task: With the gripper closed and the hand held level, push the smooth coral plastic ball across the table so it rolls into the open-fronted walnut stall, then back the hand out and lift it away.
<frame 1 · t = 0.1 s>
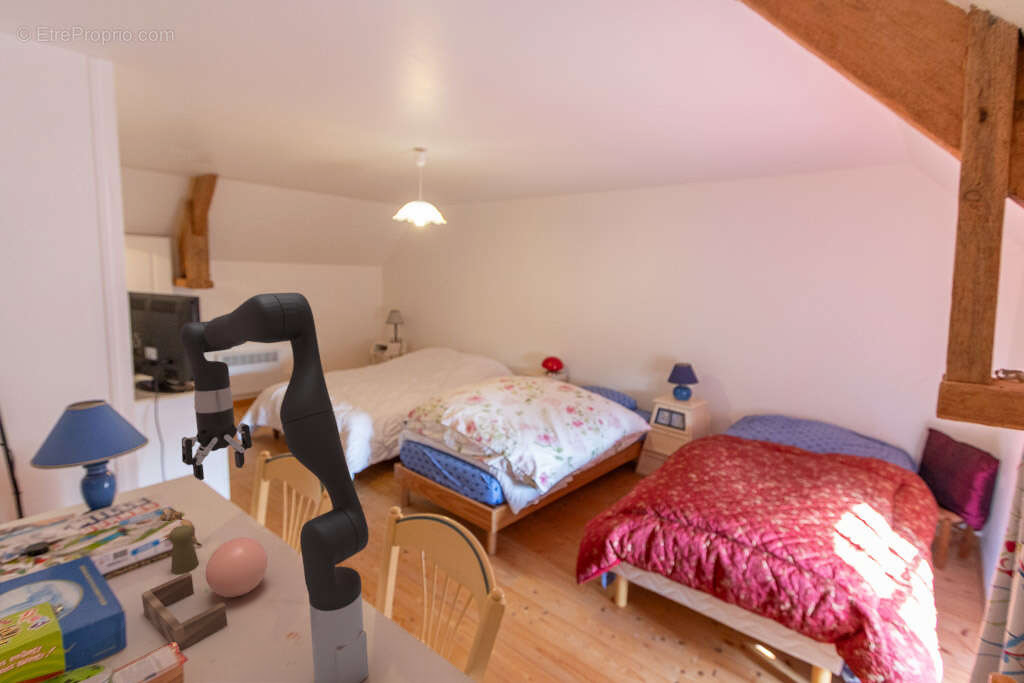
hand: (220, 472, 115), 29 cm above the table, tool pointing down, fingers open, 8 cm apart
cork: (185, 567, 126), on the table
lion figurine: (181, 542, 138), on the table
stall: (184, 619, 108), on the table
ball: (237, 566, 116), point 6 cm above the table
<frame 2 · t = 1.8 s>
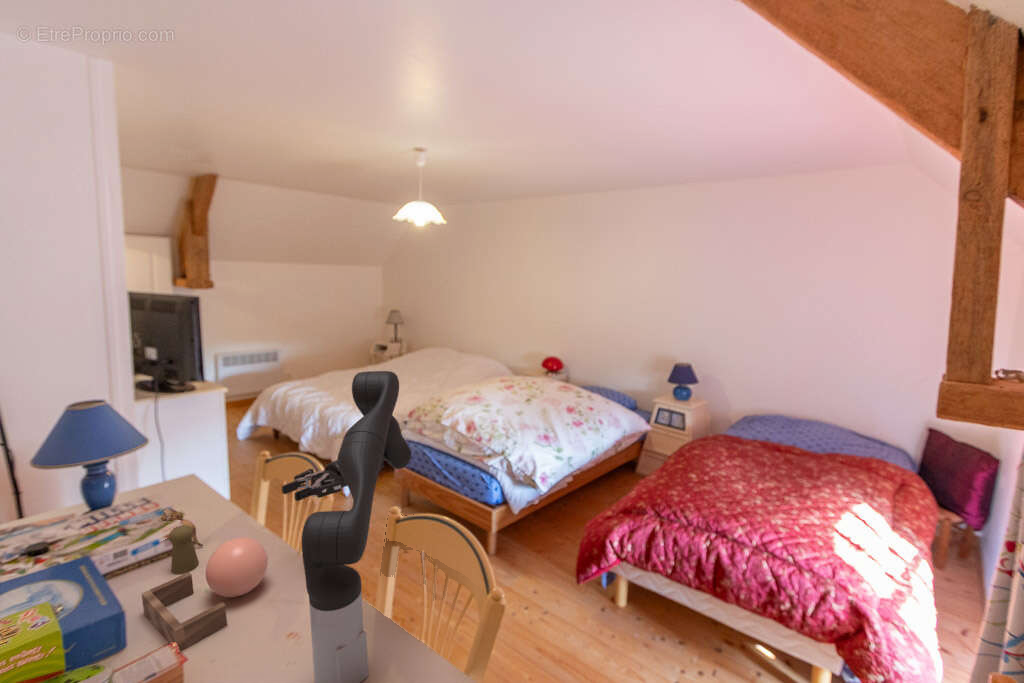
hand: (289, 493, 120), 22 cm above the table, tool horizontal, fingers open, 5 cm apart
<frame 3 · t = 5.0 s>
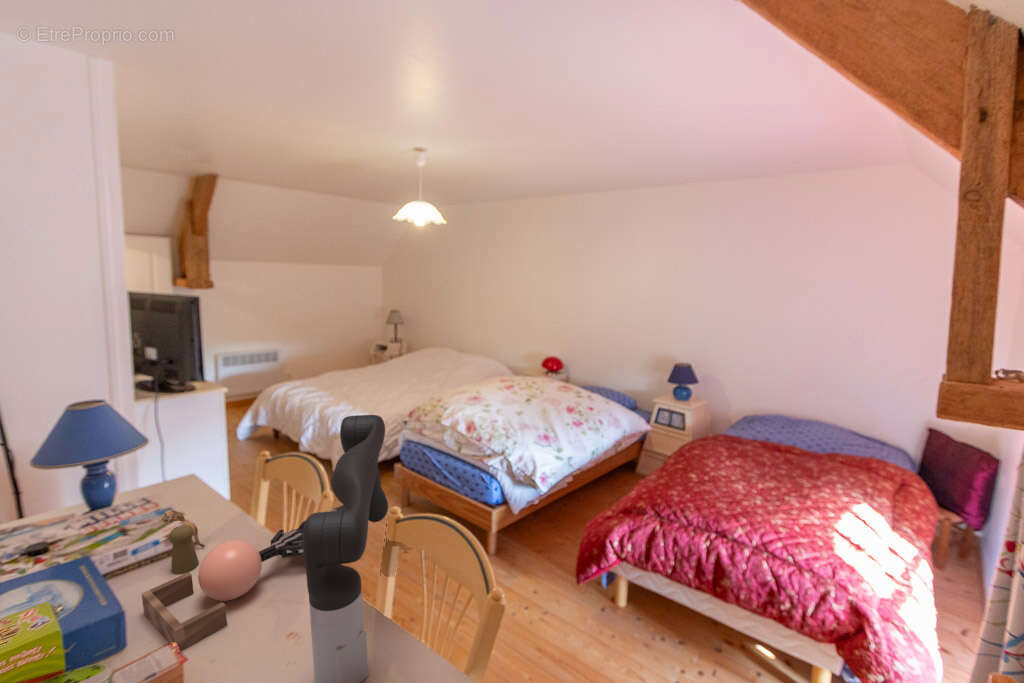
hand: (258, 557, 120), 6 cm above the table, tool horizontal, fingers closed
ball: (230, 569, 115), point 6 cm above the table, tilted 13°
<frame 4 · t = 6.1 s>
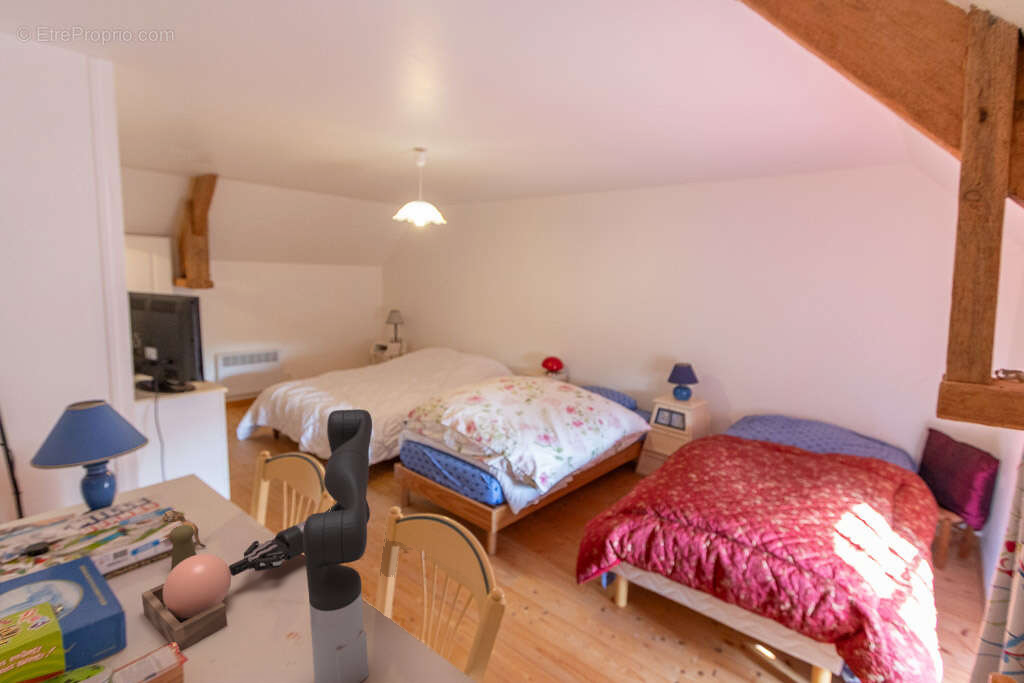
hand: (230, 571, 115), 6 cm above the table, tool horizontal, fingers closed
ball: (197, 585, 109), point 6 cm above the table, tilted 75°
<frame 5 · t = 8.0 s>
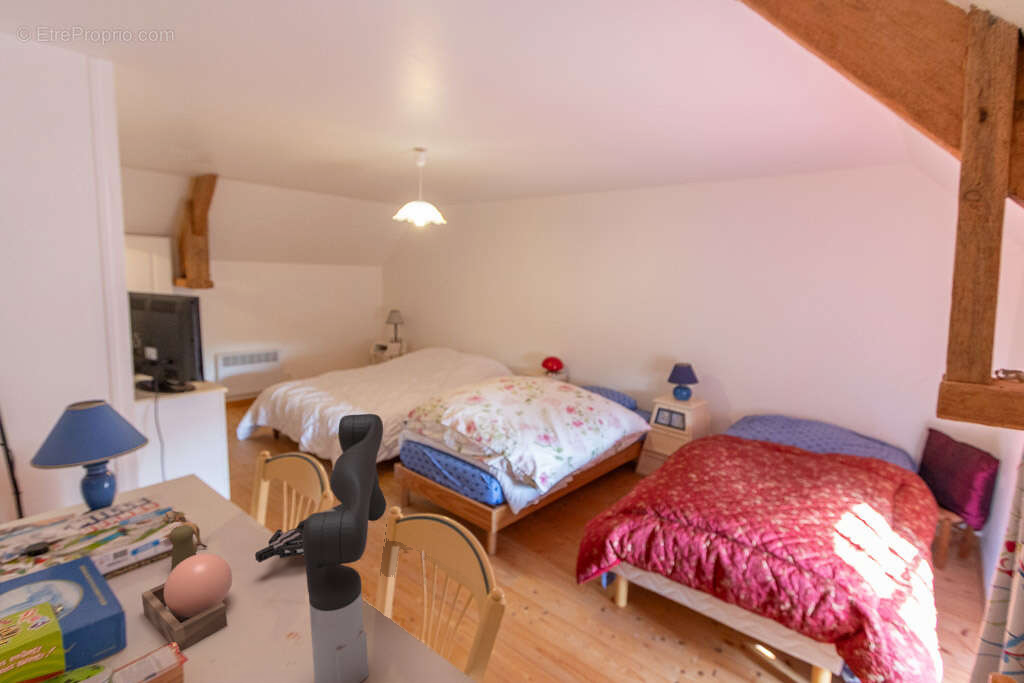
hand: (257, 557, 120), 6 cm above the table, tool horizontal, fingers closed
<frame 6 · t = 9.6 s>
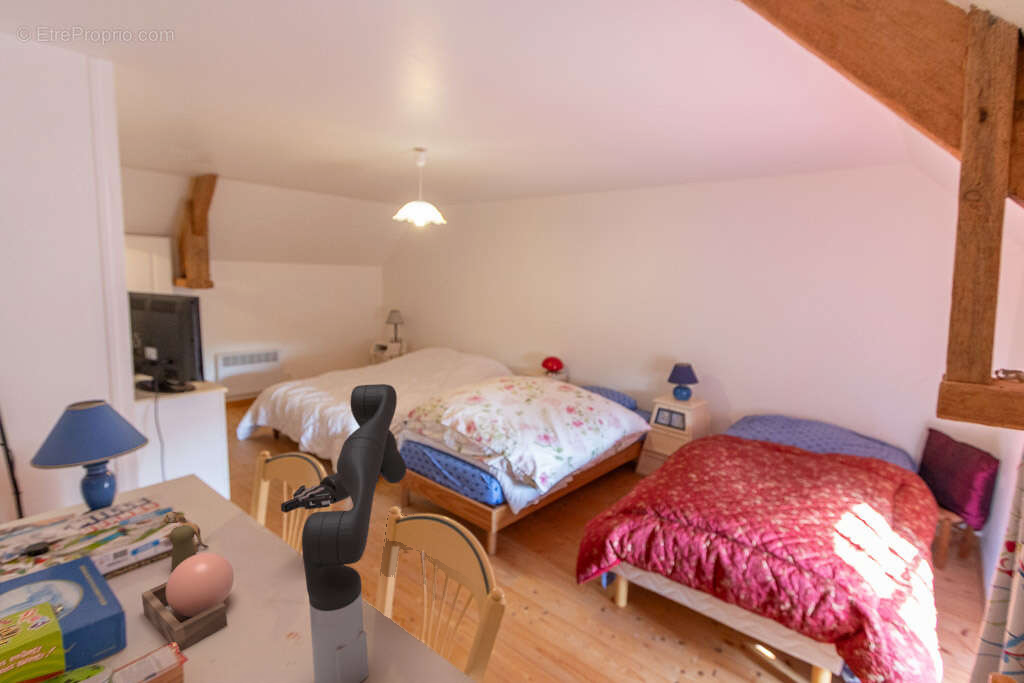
hand: (282, 508, 120), 18 cm above the table, tool horizontal, fingers closed
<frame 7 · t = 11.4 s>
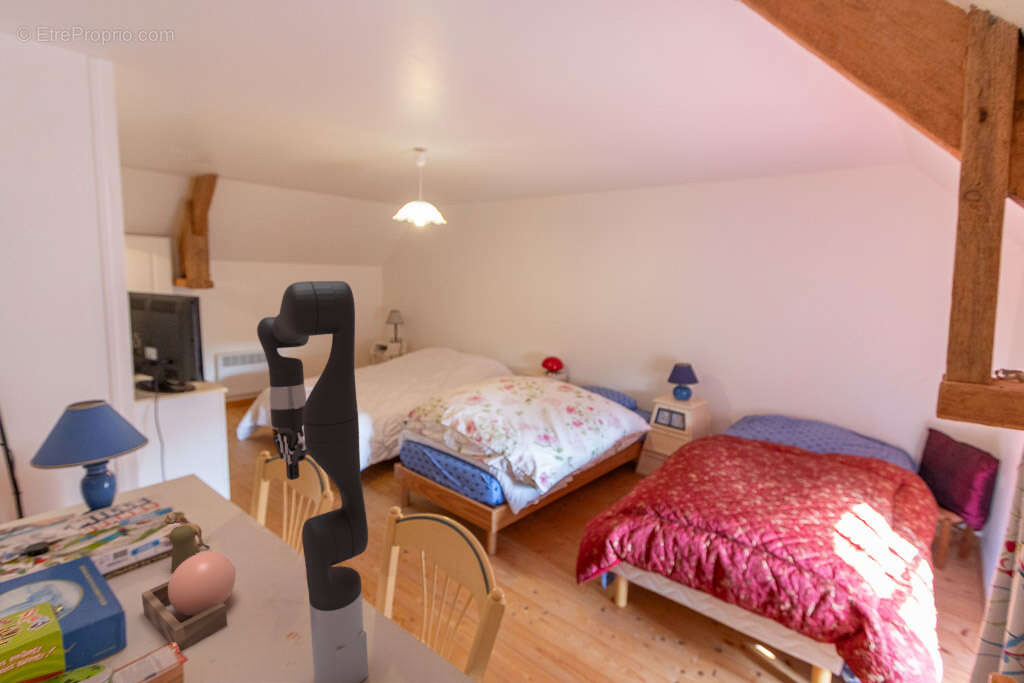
hand: (293, 478, 111), 29 cm above the table, tool pointing down, fingers closed
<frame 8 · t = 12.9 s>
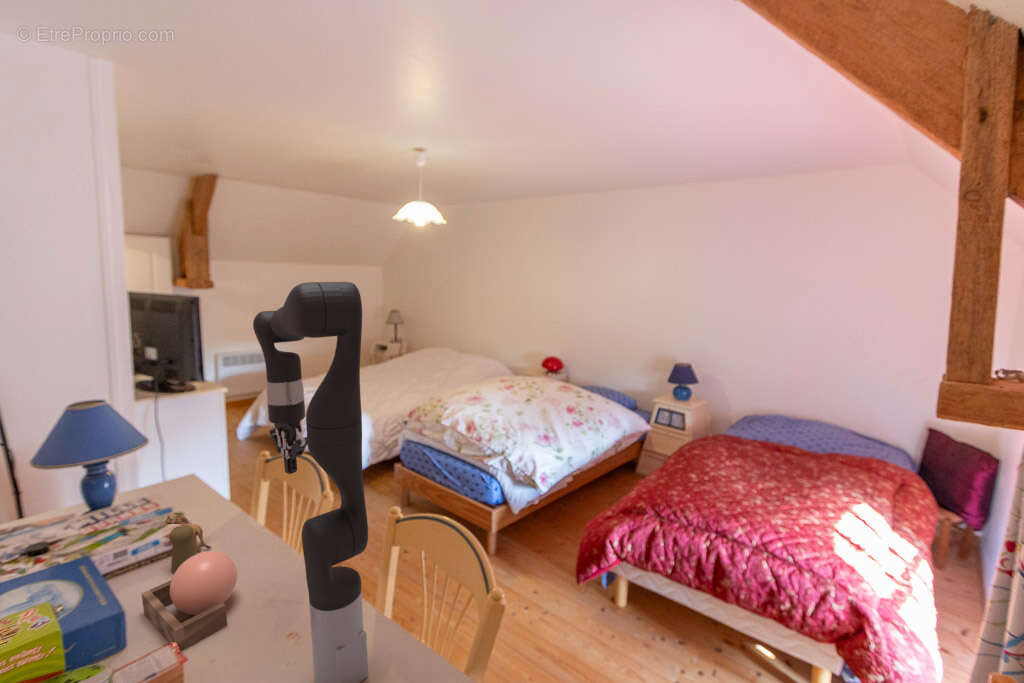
hand: (291, 472, 111), 31 cm above the table, tool pointing down, fingers closed
at the end: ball inside the target area (1.1 cm from its centre), point 6.5 cm above the table; cork moved 0.2 cm from its start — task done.
